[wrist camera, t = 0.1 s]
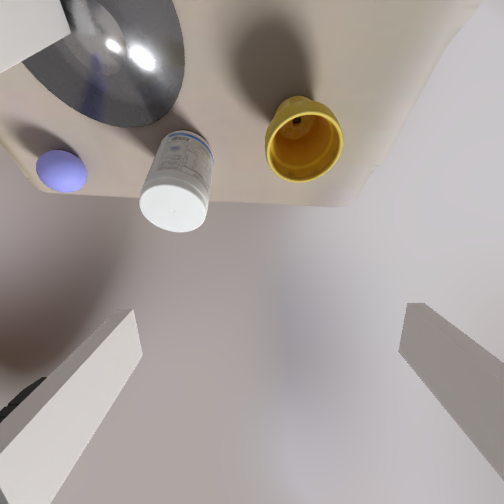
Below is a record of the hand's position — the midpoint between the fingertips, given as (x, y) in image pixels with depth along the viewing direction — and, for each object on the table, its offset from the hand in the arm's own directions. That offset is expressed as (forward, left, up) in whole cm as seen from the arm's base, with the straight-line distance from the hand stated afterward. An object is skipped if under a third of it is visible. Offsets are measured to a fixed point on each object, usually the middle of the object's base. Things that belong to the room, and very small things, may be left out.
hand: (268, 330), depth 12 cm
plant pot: (+9, +2, -36) cm, 37 cm away
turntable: (-13, -16, -36) cm, 41 cm away
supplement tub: (+5, -17, -36) cm, 40 cm away
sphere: (-5, -36, -36) cm, 51 cm away
